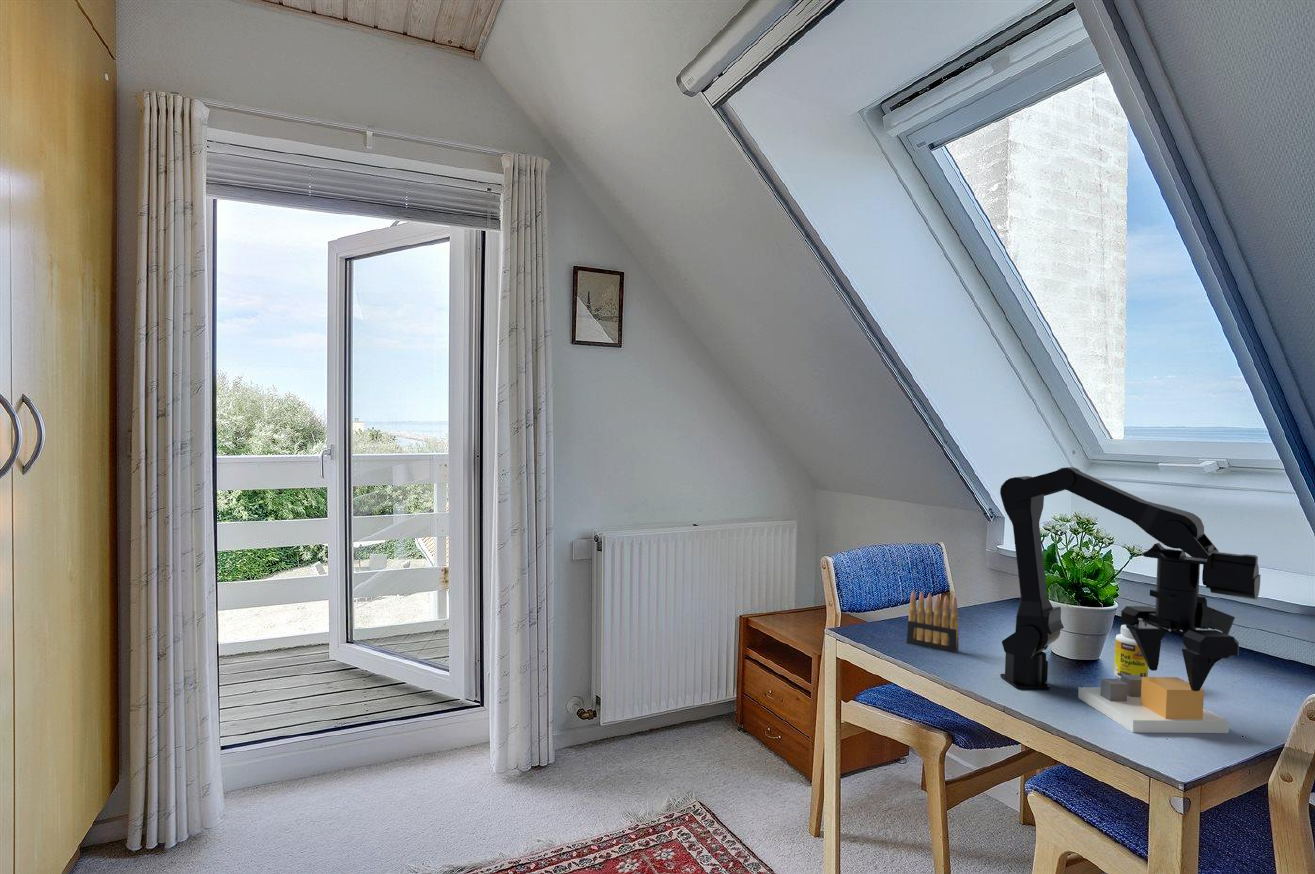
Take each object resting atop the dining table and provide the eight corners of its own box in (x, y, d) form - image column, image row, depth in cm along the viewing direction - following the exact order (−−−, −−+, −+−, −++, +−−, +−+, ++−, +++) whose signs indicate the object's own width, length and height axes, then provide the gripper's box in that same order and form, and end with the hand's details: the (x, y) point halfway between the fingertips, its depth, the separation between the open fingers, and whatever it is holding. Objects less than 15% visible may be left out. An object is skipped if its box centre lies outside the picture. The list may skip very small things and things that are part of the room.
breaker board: (1132, 732, 114) (1134, 701, 114) (1078, 697, 128) (1079, 670, 128) (1228, 733, 115) (1229, 702, 115) (1163, 698, 129) (1165, 671, 129)
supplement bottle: (1114, 680, 138) (1116, 628, 137) (1112, 671, 142) (1114, 621, 142) (1149, 686, 135) (1151, 633, 135) (1146, 677, 140) (1148, 626, 139)
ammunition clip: (958, 651, 153) (960, 596, 153) (956, 653, 152) (958, 598, 151) (908, 641, 160) (910, 588, 159) (906, 643, 158) (907, 589, 158)
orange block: (1165, 718, 115) (1166, 689, 115) (1140, 704, 121) (1141, 676, 121) (1202, 719, 115) (1203, 689, 115) (1176, 704, 121) (1177, 677, 121)
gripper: (1275, 602, 108) (1270, 703, 109) (1180, 575, 127) (1177, 661, 127) (1204, 601, 108) (1200, 702, 108) (1120, 574, 126) (1117, 660, 127)
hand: (1173, 679), depth 118 cm, fingers open, 9 cm apart
